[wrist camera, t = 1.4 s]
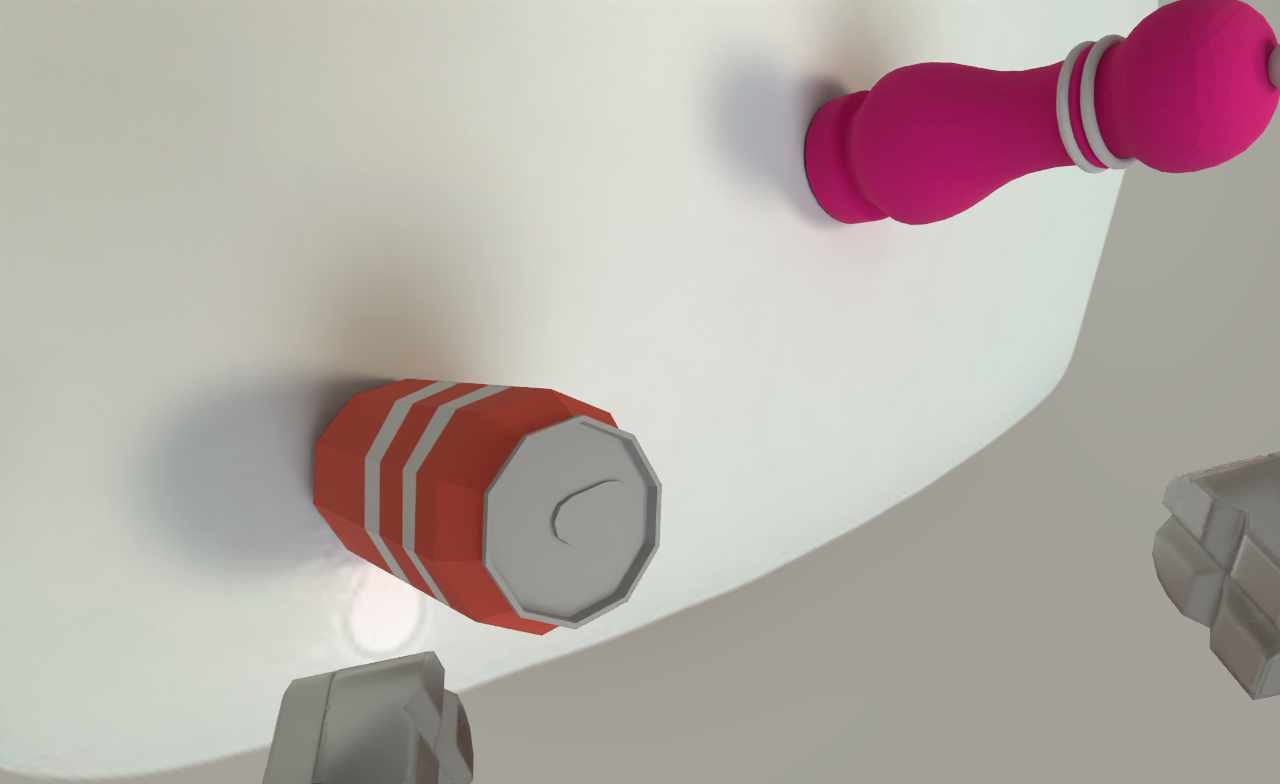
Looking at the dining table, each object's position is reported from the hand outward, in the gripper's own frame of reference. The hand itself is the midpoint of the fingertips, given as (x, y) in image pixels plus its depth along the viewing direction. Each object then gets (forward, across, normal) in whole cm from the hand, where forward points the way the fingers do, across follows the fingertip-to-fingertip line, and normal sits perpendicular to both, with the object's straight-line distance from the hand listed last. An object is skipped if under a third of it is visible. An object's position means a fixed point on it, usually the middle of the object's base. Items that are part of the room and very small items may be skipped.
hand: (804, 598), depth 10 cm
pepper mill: (+35, -11, +11) cm, 38 cm away
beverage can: (+19, +10, +11) cm, 24 cm away
